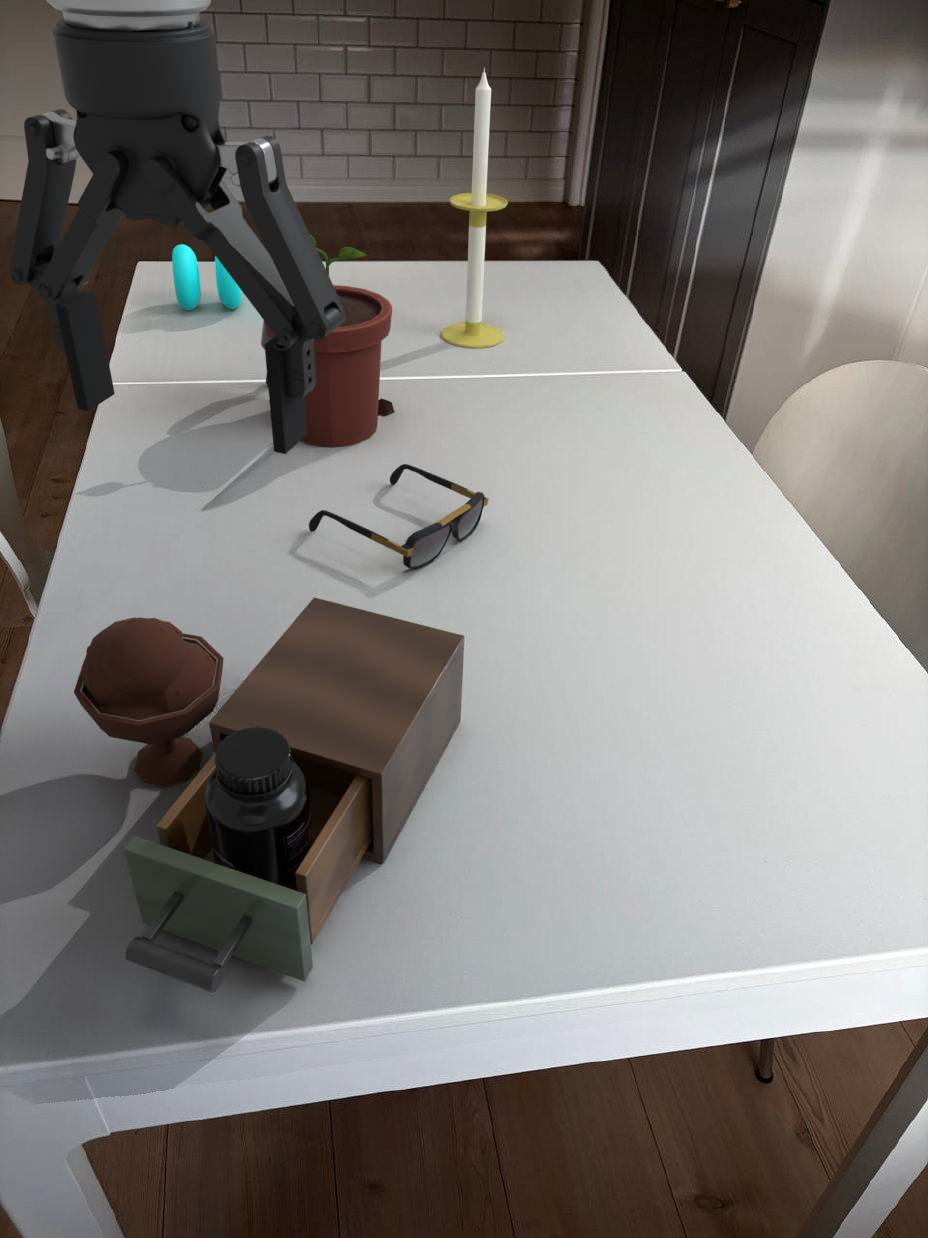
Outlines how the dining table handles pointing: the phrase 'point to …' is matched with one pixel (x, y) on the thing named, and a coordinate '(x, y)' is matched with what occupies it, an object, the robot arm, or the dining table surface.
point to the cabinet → (358, 703)
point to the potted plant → (347, 368)
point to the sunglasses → (432, 538)
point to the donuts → (190, 280)
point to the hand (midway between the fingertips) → (191, 422)
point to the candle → (477, 233)
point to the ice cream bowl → (151, 693)
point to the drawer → (245, 883)
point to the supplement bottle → (259, 807)
